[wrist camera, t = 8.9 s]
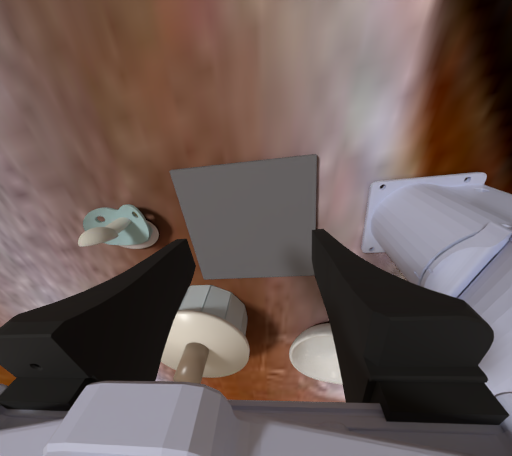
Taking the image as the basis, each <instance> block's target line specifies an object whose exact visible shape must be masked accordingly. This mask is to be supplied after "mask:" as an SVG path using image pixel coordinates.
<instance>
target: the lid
mask: <svg viewBox="0 0 512 456" xmlns="http://www.w3.org/2000/svg"><path fill="white" fill-rule="evenodd" d="M249 352H250V348H249V343H248V341H247V339H246V337H245V336H244V334H243V333H242V332H241V331H240V330H239V329H238V328H237V327H236V326H234V325H233V324H231V323H230V322H228V321H226V320H225V319H223V318H220V317H218V316H216V315H213V314H209V313H206V312H201V311H194V310H178V312H177V314H176V316H175V319H174V321H173V324H172V327H171V330H170V333H169V336H168V338H167V342H166V345H165V348H164V351H163V355H162V358H161V362H162V363H164V364H165V365H167V366H169V367H171V368H173V369H175V370H176V372H175V375H174V378H173V380H174V382H191V383H198V384H200V383H201V379H202V377H223V376H228V375H231V374H234V373H236V372H238V371H240V370H241V369H242V368H243V367H244V366H245V365H246V364H247V362H248V359H249Z"/></svg>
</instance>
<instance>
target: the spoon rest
mask: <svg viewBox="0 0 512 456" xmlns="http://www.w3.org/2000/svg"><path fill="white" fill-rule="evenodd" d="M289 356H290V360H291V363H292V364H293V366H294V367H295V368H296V369H297V370H298V371H300V372H301V373H303V374H304V375H306V376H308V377H311V378H313V379H316V380H320V381H324V382H329V383H335V384H342V385H343V383H342V378H341V373H340V368H339V363H338V358H337V354H336V349H335V344H334V340H333V335H332V331H331V326H330V323H325V324H319V325H316V326H313V327H310V328H308V329H307V330H305V331H304V332H302V333H301V334H300V335H299V336H298V337H297V338H296V339H295V340H294V342H293V343H292V345H291V348H290V351H289Z"/></svg>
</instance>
